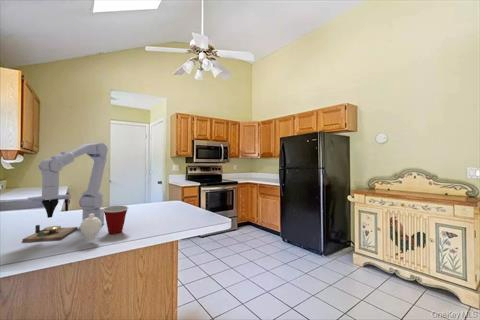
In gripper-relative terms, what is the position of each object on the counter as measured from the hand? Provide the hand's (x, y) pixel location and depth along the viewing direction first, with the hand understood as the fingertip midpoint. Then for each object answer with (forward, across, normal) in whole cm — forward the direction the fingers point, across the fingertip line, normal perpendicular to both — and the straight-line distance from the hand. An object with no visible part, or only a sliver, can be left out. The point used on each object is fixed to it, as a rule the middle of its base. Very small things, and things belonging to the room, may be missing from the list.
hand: (49, 217), depth 102 cm
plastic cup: (+10, -23, +12) cm, 27 cm away
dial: (+6, 0, -4) cm, 7 cm away
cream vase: (+10, -11, +19) cm, 24 cm away
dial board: (+9, -2, -4) cm, 10 cm away
